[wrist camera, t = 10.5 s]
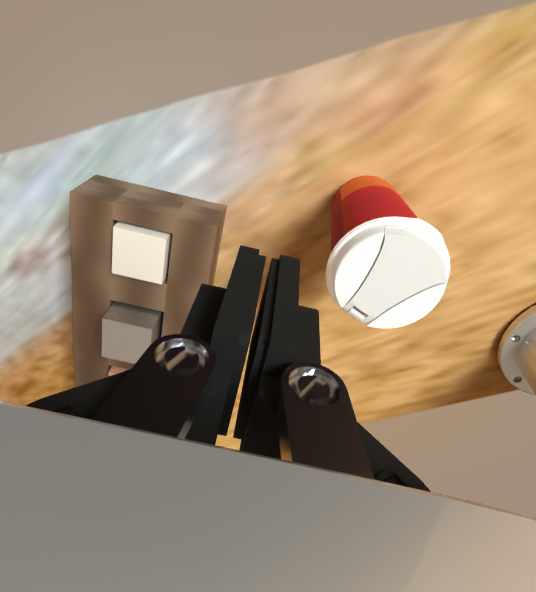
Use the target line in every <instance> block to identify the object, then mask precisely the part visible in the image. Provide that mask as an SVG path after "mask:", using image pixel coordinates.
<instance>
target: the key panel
mask: <svg viewBox="0 0 536 592" xmlns="http://www.w3.org/2000/svg"><path fill="white" fill-rule="evenodd" d="M226 208H227V206H225V205H220V204H216V203H212V202H208V201H204V200H199V199H195V198H191V197H187V196H183V195H178V194H174V193H170V192H166V191H162V190H158V189H153V188H149V187H145V186H141V185H137V184H132V183H128V182H124V181H120V180H116V179H111V178H107V177H103V176H99V175H95V176H93V177H92V178H90V179H89V180H87V181H86V182H84V183H83V184H81V185H80V186H78V187H77V188H75V189H74V190H72V191H71V192H70V223H71V263H72V302H73V341H74V380H75V387H78V386H81V385H84V384H87V383H90V382H93V381H96V380H99V379H102V378H105V377H108V372H109V370H110V369H111V367H112V366H116V367H120V368H125V369H131V368H132V367H133V366H134V365H135V364H133V363H128V362H124V361H119V360H115V359H110V358H106V357H102V318H103V317H104V315H105V314H106V313H107V311H108V310H109V309H110V307H111V306H112V304H113V303H114V302H115V301H118V302H122V303H126V304H131V305H135V306H140V307H144V308H149V309H153V310H157V311H162V312H164V316H163V325H162V334H161V337H163V336H166V335H172V334H180V333H181V331H182V328H183V326H184V324H185V321H186V319H187V317H188V314H189V312H190V310H191V307H192V305H193V303H194V300H195V298H196V296H197V293H198V291H199V289H200V286H201V284H202V283H203V284H208V285H212V286H213V282H214V276H215V270H216V265H217V259H218V254H219V248H220V242H221V237H222V231H223V225H224V220H225V214H226ZM118 221H121V222H125V223H130V224H134V225H138V226H142V227H147V228H151V229H155V230H159V231H164V232H168V233H172V234H173V235H172V244H171V253H170V262H169V271H168V275H167V277H166V278H165V280H164V282H163V283H162V284H157V283H153V282H148V281H144V280H140V279H135V278H131V277H127V276H122V275H118V274H114V273H112V247H113V226H114V225H115V224H116V223H117V222H118Z"/></svg>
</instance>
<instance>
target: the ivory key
mask: <svg viewBox="0 0 536 592" xmlns="http://www.w3.org/2000/svg"><path fill="white" fill-rule="evenodd" d="M172 235H173V234H172V233H168V232H164V231H159V230H155V229H151V228H147V227H142V226H138V225H134V224H130V223H125V222H121V221H118V222H117V223H116V224H115V225H114V226H113V247H112V273H114V274H118V275H122V276H127V277H131V278H135V279H140V280H144V281H148V282H153V283H157V284H162V283H163V282H164V280H165V278H166V277H167V275H168V271H169V262H170V253H171V244H172Z"/></svg>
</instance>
